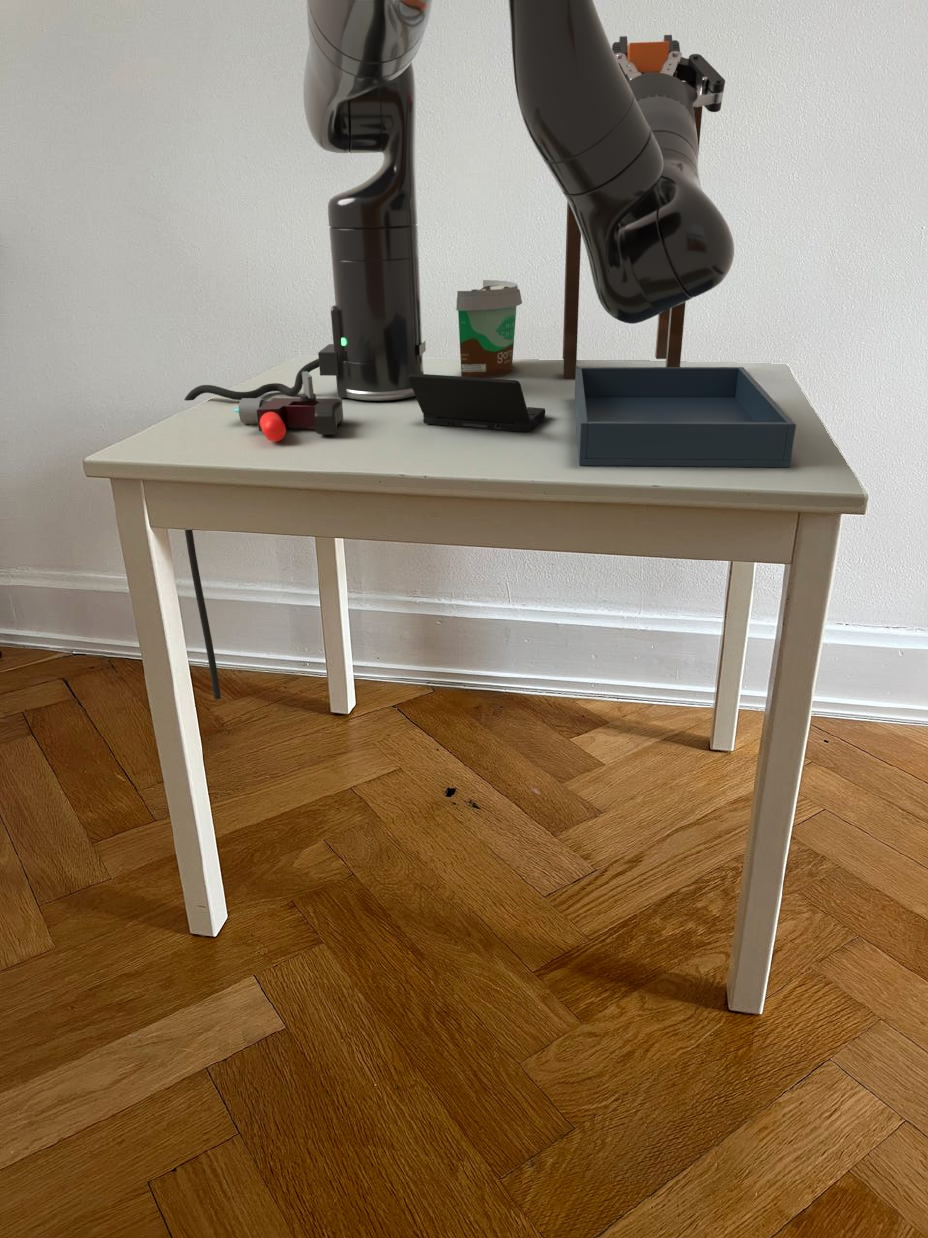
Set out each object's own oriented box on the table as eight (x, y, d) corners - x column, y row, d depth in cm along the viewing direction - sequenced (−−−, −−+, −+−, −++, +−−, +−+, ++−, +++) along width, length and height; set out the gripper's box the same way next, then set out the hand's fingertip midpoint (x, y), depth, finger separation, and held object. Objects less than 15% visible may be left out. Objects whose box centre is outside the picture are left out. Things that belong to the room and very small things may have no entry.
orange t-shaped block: (661, 89, 102) (664, 58, 100) (686, 71, 83) (689, 32, 81) (599, 91, 102) (600, 60, 101) (609, 73, 83) (610, 35, 82)
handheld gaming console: (547, 395, 91) (528, 324, 82) (545, 453, 88) (525, 386, 79) (438, 407, 94) (409, 340, 85) (432, 464, 91) (401, 401, 82)
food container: (508, 382, 105) (508, 292, 100) (457, 380, 107) (455, 291, 102) (531, 362, 116) (532, 279, 111) (484, 360, 117) (484, 279, 113)
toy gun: (240, 418, 92) (234, 370, 90) (354, 420, 90) (350, 371, 88) (202, 444, 84) (194, 392, 81) (327, 447, 82) (322, 393, 80)
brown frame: (561, 378, 106) (569, 84, 93) (560, 356, 119) (568, 94, 105) (681, 378, 105) (707, 80, 92) (668, 356, 117) (689, 90, 104)
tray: (579, 465, 75) (580, 423, 74) (574, 401, 96) (575, 367, 94) (789, 467, 74) (796, 423, 72) (739, 401, 94) (743, 366, 93)
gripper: (744, 95, 73) (726, -1, 83) (570, 100, 75) (571, 4, 84) (728, 183, 80) (712, 84, 89) (567, 186, 81) (568, 88, 90)
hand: (644, 46), depth 87 cm, fingers closed on orange t-shaped block, 3 cm apart
